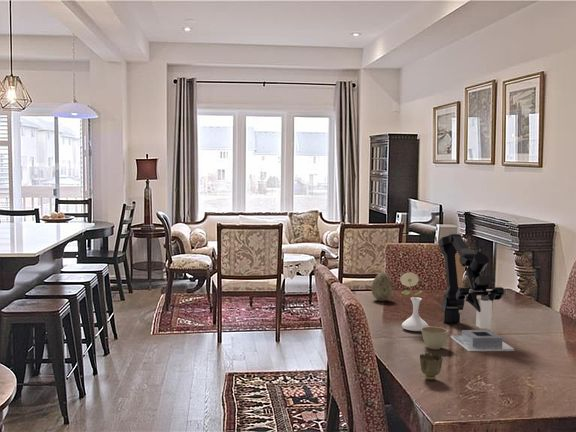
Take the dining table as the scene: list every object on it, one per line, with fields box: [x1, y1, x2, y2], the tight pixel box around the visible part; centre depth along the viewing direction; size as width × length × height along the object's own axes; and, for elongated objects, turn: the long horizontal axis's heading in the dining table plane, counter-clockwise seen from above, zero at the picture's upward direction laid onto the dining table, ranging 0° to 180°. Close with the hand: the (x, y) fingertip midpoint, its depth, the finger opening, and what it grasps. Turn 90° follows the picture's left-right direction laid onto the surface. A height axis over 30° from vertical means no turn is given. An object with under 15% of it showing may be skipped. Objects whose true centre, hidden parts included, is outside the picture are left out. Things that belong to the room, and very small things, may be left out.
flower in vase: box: [399, 271, 430, 332], centre depth 272 cm, size 13×11×25 cm
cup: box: [419, 352, 444, 382], centre depth 209 cm, size 8×7×8 cm
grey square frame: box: [450, 329, 515, 352], centre depth 253 cm, size 20×18×4 cm
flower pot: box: [420, 326, 449, 350], centre depth 246 cm, size 10×10×7 cm
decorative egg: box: [371, 271, 393, 302], centre depth 329 cm, size 11×11×15 cm
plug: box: [475, 295, 493, 329], centre depth 252 cm, size 4×4×12 cm
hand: (485, 311), depth 250 cm, fingers closed on plug, 4 cm apart
